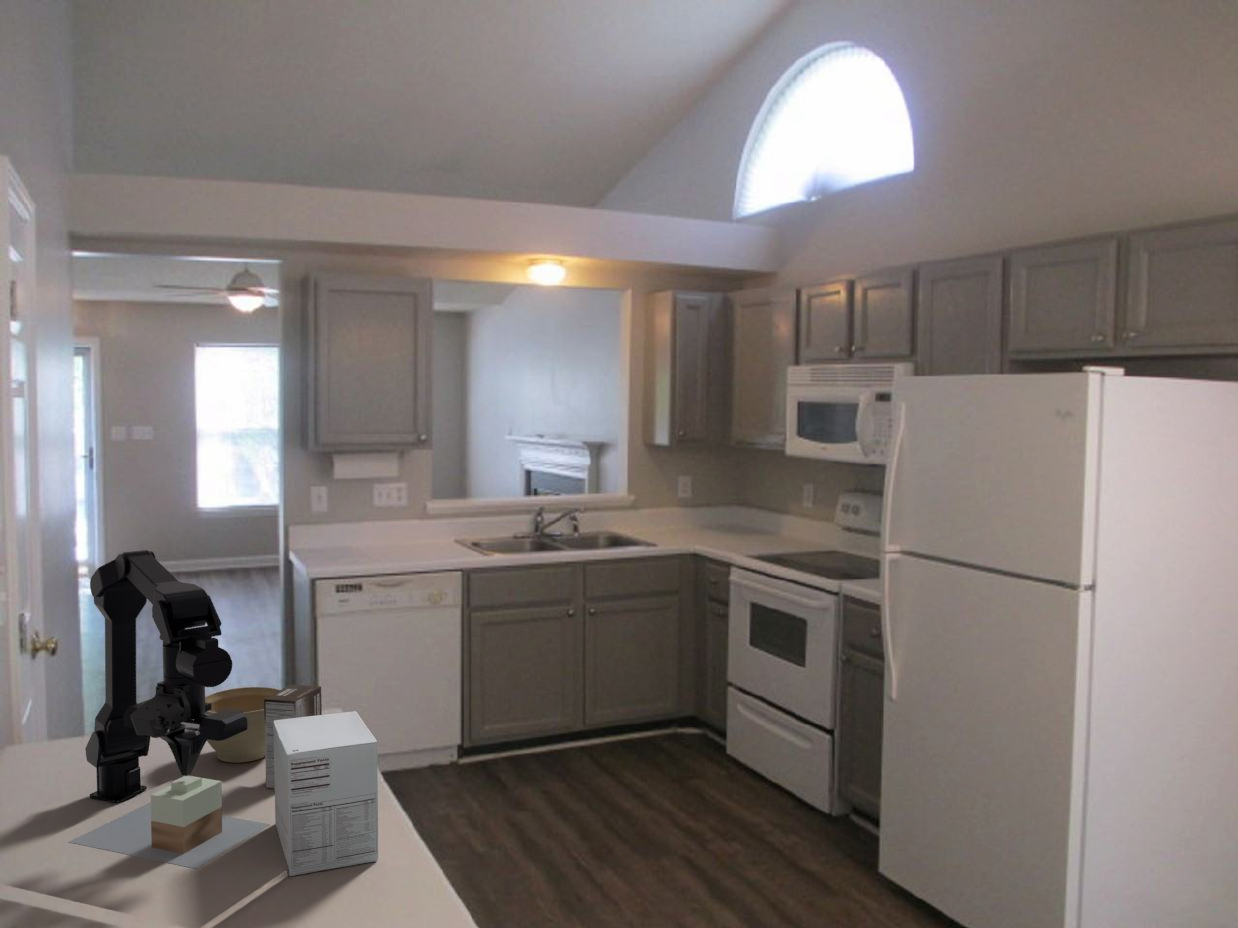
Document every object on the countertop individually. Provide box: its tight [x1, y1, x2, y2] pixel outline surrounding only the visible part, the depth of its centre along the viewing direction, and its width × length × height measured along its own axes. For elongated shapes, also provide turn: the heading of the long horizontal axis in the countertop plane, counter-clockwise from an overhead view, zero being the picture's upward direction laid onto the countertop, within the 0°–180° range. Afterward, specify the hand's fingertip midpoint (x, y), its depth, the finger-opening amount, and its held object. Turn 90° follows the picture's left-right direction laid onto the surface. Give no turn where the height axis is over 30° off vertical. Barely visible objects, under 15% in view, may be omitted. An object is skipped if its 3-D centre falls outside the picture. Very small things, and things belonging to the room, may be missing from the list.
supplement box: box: [273, 710, 379, 877], centre depth 155 cm, size 17×13×18 cm
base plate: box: [68, 801, 271, 870], centre depth 157 cm, size 24×16×1 cm, turn 70°
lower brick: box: [151, 806, 223, 854], centre depth 155 cm, size 8×6×5 cm
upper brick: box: [150, 775, 223, 827], centre depth 154 cm, size 8×6×5 cm
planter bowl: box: [205, 686, 281, 764], centre depth 194 cm, size 16×16×11 cm
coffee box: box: [264, 684, 323, 790], centre depth 181 cm, size 9×6×16 cm
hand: (186, 774), depth 154 cm, fingers closed
